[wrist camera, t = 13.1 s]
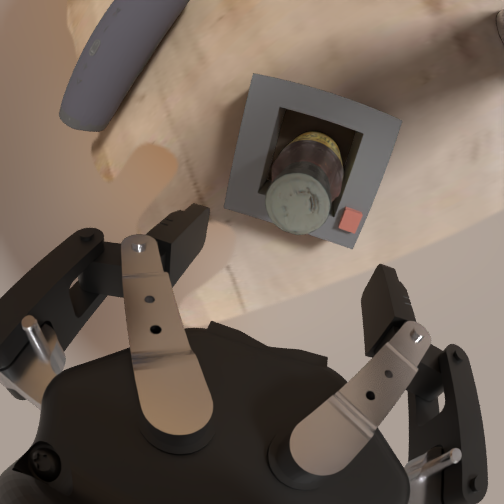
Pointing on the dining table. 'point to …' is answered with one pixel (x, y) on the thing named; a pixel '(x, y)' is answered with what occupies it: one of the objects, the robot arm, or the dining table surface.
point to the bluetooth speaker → (115, 60)
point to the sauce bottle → (304, 183)
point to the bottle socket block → (327, 108)
